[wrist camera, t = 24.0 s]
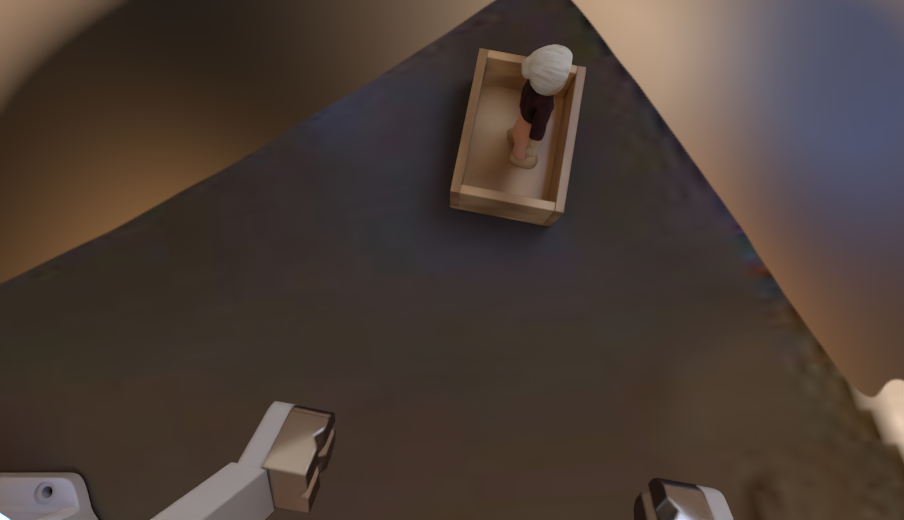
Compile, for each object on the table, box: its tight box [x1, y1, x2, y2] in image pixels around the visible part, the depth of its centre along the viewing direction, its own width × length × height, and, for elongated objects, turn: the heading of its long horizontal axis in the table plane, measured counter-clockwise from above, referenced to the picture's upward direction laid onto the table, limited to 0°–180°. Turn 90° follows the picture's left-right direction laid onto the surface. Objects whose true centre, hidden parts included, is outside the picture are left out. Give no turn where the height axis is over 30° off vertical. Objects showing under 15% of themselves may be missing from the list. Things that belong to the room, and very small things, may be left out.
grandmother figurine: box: [507, 45, 573, 169], centre depth 33 cm, size 8×4×13 cm, turn 12°
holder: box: [450, 48, 586, 227], centre depth 38 cm, size 10×14×5 cm
